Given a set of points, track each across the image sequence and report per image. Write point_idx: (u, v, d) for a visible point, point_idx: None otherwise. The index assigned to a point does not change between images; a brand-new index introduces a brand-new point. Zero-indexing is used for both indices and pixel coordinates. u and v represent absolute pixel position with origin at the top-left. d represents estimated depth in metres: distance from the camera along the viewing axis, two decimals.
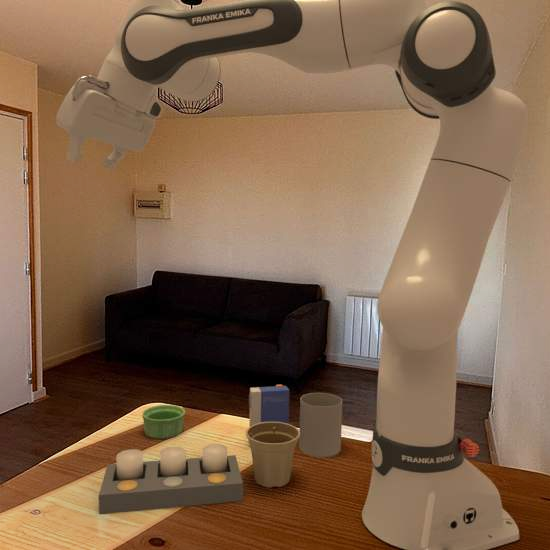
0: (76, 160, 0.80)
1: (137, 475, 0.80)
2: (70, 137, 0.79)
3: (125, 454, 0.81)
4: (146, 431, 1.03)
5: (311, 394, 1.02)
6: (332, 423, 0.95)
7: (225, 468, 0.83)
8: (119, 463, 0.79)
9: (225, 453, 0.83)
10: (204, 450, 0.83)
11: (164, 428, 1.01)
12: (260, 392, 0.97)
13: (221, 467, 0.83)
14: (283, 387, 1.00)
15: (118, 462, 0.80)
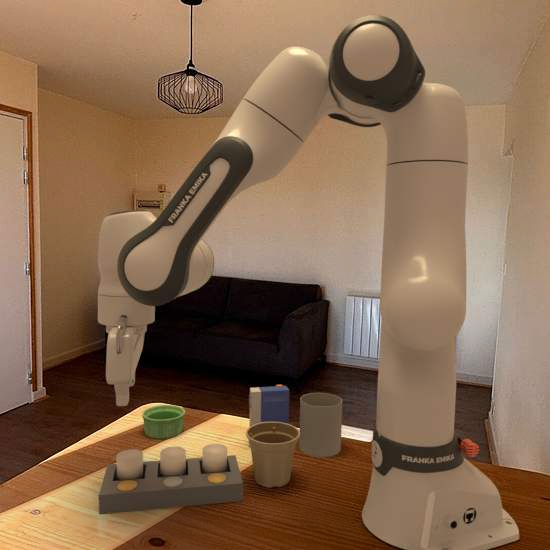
0: None
1: (137, 475, 0.80)
2: (117, 386, 0.74)
3: (125, 454, 0.81)
4: (146, 431, 1.03)
5: (311, 394, 1.02)
6: (332, 423, 0.95)
7: (225, 468, 0.83)
8: (119, 463, 0.79)
9: (225, 453, 0.83)
10: (204, 450, 0.83)
11: (164, 428, 1.01)
12: (260, 392, 0.97)
13: (221, 467, 0.83)
14: (283, 387, 1.00)
15: (118, 462, 0.80)
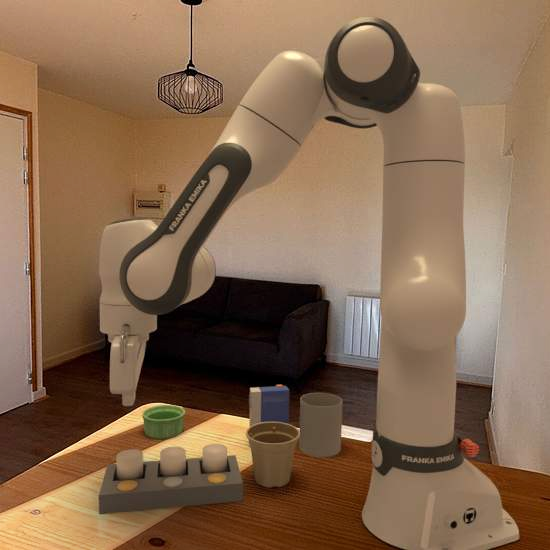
0: (133, 402, 0.80)
1: (137, 475, 0.80)
2: None
3: (125, 454, 0.81)
4: (146, 431, 1.03)
5: (311, 394, 1.02)
6: (332, 423, 0.95)
7: (225, 468, 0.83)
8: (119, 463, 0.79)
9: (225, 453, 0.83)
10: (204, 450, 0.83)
11: (164, 428, 1.01)
12: (260, 392, 0.97)
13: (221, 467, 0.83)
14: (283, 387, 1.00)
15: (118, 462, 0.80)
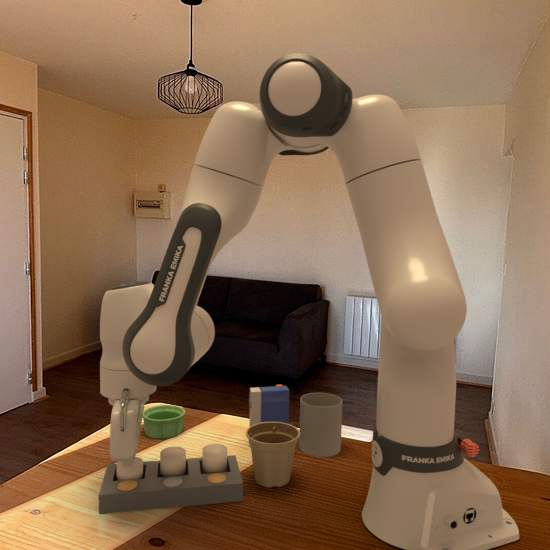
0: (133, 461, 0.80)
1: None
2: None
3: None
4: (146, 431, 1.03)
5: (311, 394, 1.02)
6: (332, 423, 0.95)
7: (225, 468, 0.83)
8: (119, 471, 0.80)
9: (225, 453, 0.83)
10: (204, 450, 0.83)
11: (164, 428, 1.01)
12: (260, 392, 0.97)
13: (221, 467, 0.83)
14: (283, 387, 1.00)
15: (118, 470, 0.80)
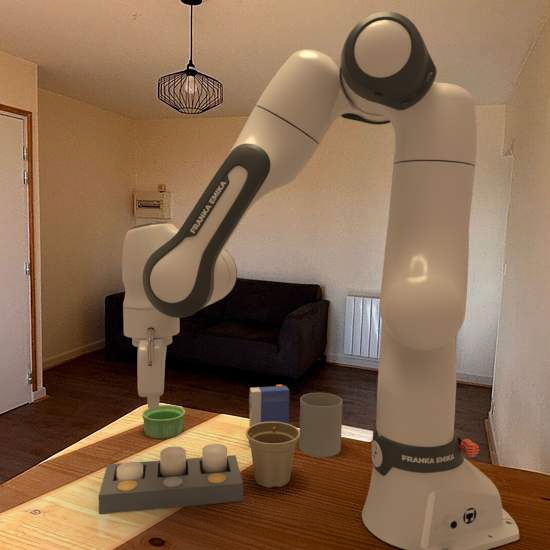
0: (158, 404, 0.80)
1: None
2: None
3: (125, 466, 0.82)
4: (146, 430, 1.03)
5: (311, 394, 1.02)
6: (332, 423, 0.95)
7: (225, 468, 0.83)
8: (119, 476, 0.80)
9: (225, 453, 0.83)
10: (204, 450, 0.83)
11: (164, 428, 1.01)
12: (260, 392, 0.97)
13: (221, 467, 0.83)
14: (283, 387, 1.00)
15: (118, 475, 0.80)
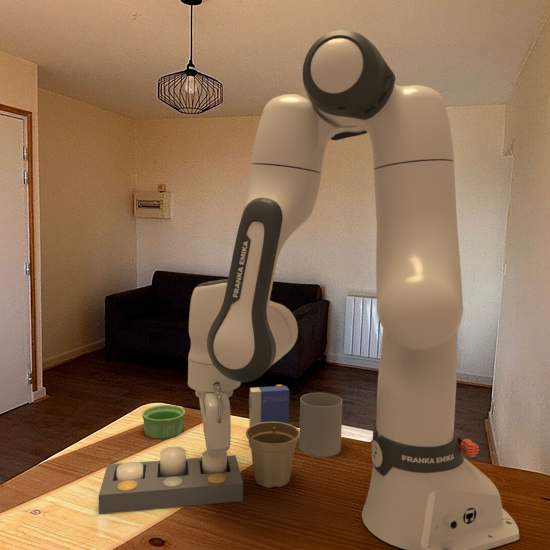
0: (218, 453, 0.83)
1: None
2: None
3: (125, 466, 0.82)
4: (146, 431, 1.03)
5: (311, 394, 1.02)
6: (332, 423, 0.95)
7: None
8: (119, 476, 0.80)
9: (225, 458, 0.83)
10: (204, 455, 0.83)
11: (164, 428, 1.01)
12: (260, 392, 0.97)
13: (221, 472, 0.83)
14: (283, 387, 1.00)
15: (118, 475, 0.80)
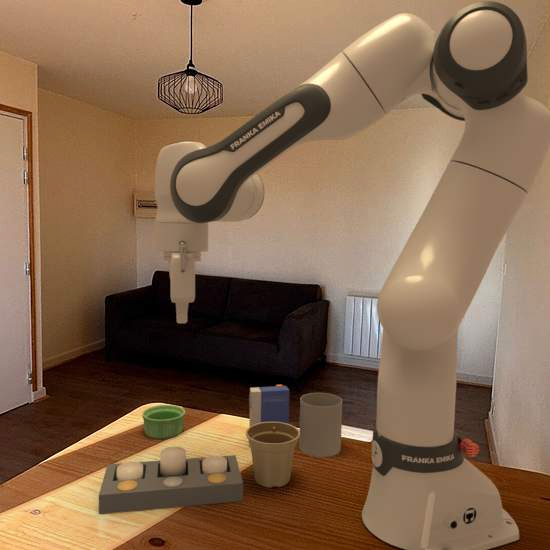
0: None
1: None
2: (178, 303, 0.81)
3: (125, 466, 0.82)
4: (146, 431, 1.03)
5: (311, 394, 1.02)
6: (332, 423, 0.95)
7: None
8: (119, 476, 0.80)
9: (225, 465, 0.83)
10: (204, 462, 0.83)
11: (164, 428, 1.01)
12: (260, 392, 0.97)
13: None
14: (283, 387, 1.00)
15: (118, 475, 0.80)
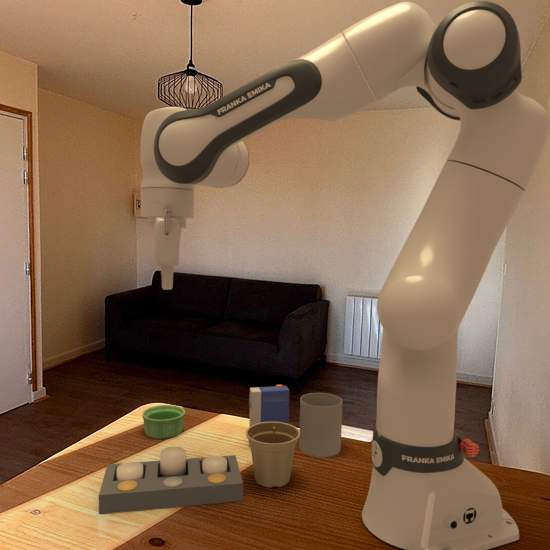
0: (172, 286, 0.84)
1: None
2: (163, 269, 0.81)
3: (125, 466, 0.82)
4: (146, 431, 1.03)
5: (311, 394, 1.02)
6: (332, 423, 0.95)
7: None
8: (119, 476, 0.80)
9: (225, 465, 0.83)
10: (204, 462, 0.83)
11: (164, 428, 1.01)
12: (260, 392, 0.97)
13: None
14: (283, 387, 1.00)
15: (118, 475, 0.80)
